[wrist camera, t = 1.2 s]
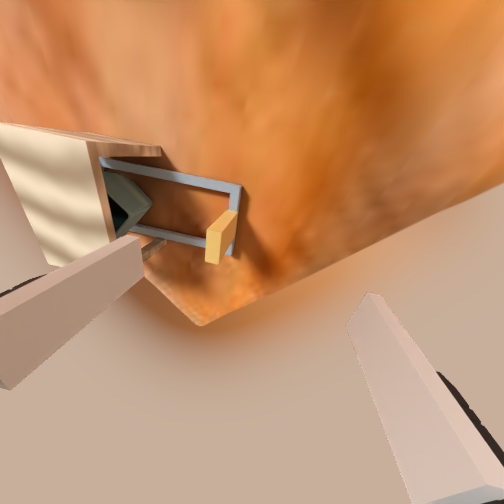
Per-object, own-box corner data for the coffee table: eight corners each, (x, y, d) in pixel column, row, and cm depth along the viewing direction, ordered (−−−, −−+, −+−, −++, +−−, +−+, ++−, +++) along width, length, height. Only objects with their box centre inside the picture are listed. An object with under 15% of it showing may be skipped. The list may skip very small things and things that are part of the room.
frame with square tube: (94, 154, 33) (7, 154, 23) (243, 185, 32) (224, 200, 21) (109, 223, 40) (47, 247, 29) (234, 251, 38) (216, 287, 28)
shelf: (95, 133, 32) (-17, 120, 20) (160, 146, 31) (85, 140, 19) (116, 232, 41) (48, 263, 29) (167, 243, 40) (118, 280, 29)
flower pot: (108, 194, 37) (61, 205, 29) (129, 164, 34) (83, 167, 26) (142, 227, 40) (107, 245, 32) (165, 203, 36) (133, 216, 28)
